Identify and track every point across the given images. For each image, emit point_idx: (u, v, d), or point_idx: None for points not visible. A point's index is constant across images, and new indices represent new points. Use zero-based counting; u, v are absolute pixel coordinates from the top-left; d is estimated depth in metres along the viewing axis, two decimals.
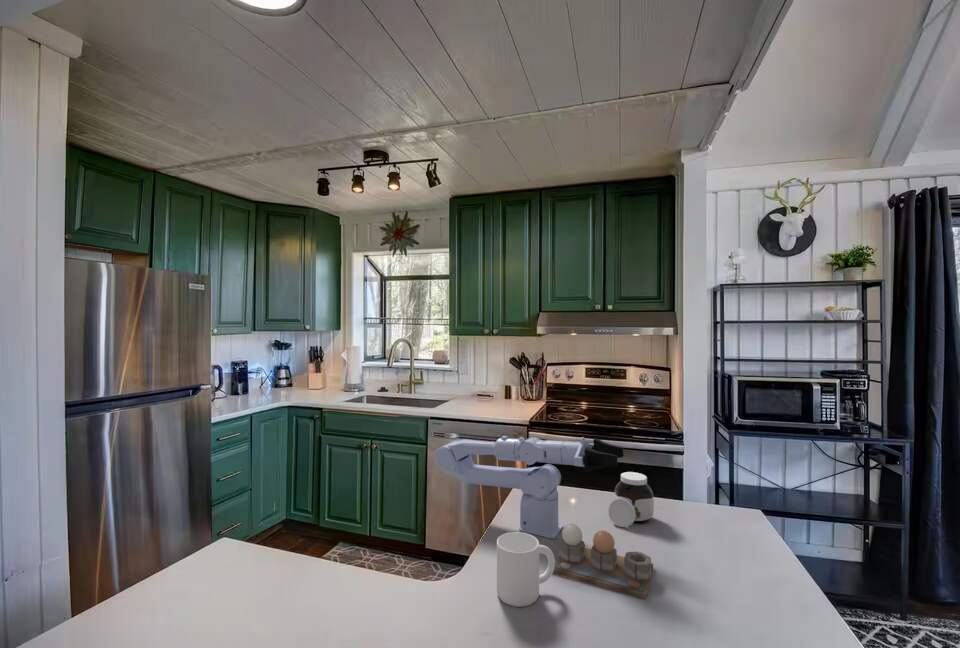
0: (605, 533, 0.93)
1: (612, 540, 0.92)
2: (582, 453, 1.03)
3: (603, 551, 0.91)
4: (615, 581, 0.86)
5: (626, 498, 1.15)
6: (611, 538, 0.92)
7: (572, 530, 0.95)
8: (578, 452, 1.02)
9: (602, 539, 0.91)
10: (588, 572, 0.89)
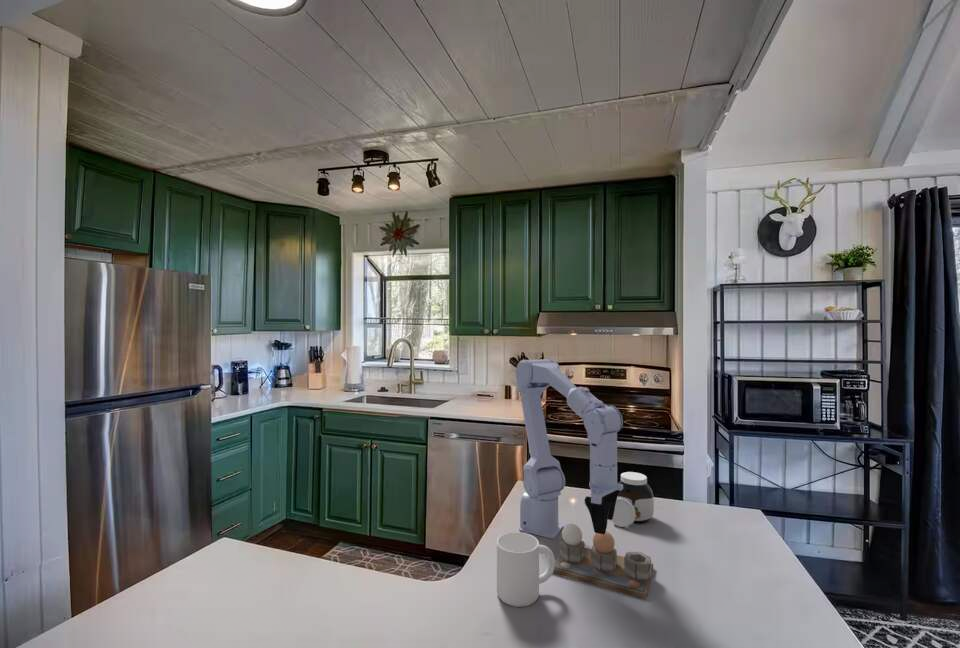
0: (605, 533, 0.93)
1: (612, 540, 0.92)
2: None
3: (603, 551, 0.91)
4: (615, 581, 0.86)
5: (626, 498, 1.15)
6: (611, 538, 0.92)
7: (572, 530, 0.95)
8: (606, 493, 0.88)
9: (602, 539, 0.91)
10: (588, 572, 0.89)
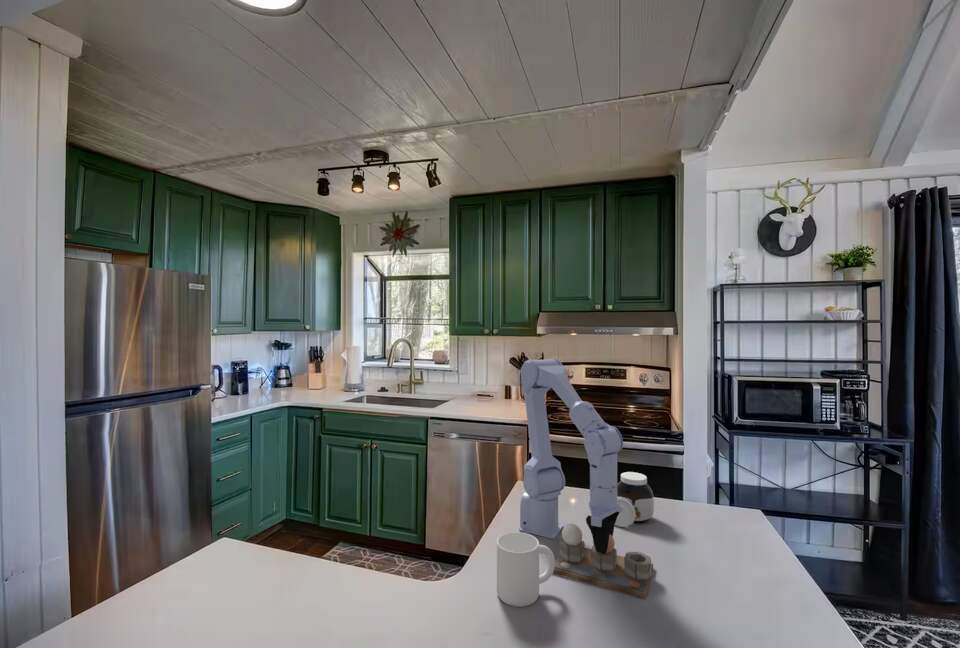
0: None
1: (612, 540, 0.92)
2: None
3: None
4: (615, 581, 0.86)
5: (626, 498, 1.15)
6: (611, 538, 0.92)
7: (572, 530, 0.95)
8: (606, 516, 0.88)
9: None
10: (588, 572, 0.89)
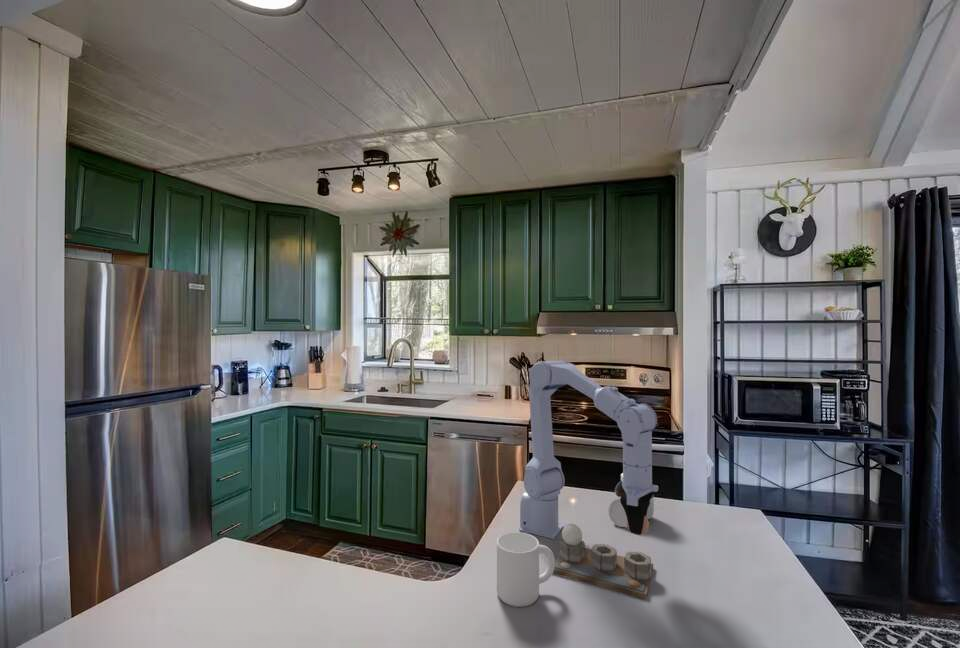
0: None
1: (647, 521, 0.88)
2: None
3: None
4: (615, 581, 0.86)
5: None
6: (646, 519, 0.89)
7: (572, 530, 0.95)
8: (642, 495, 0.85)
9: None
10: (588, 572, 0.89)
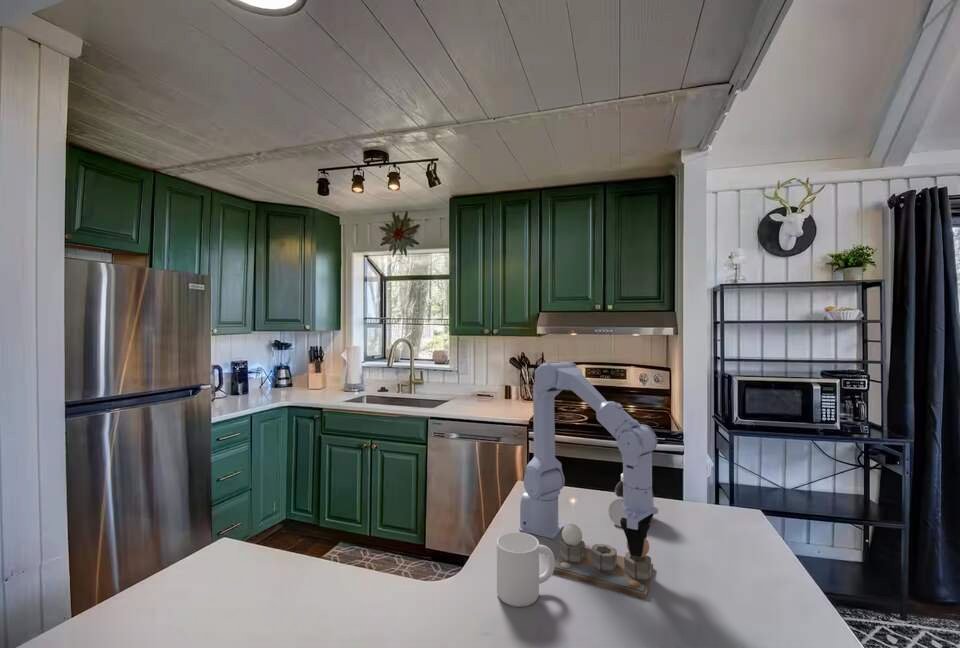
0: None
1: (647, 543, 0.88)
2: None
3: None
4: (615, 581, 0.86)
5: None
6: (646, 541, 0.89)
7: (572, 530, 0.95)
8: (642, 518, 0.85)
9: None
10: (588, 572, 0.89)
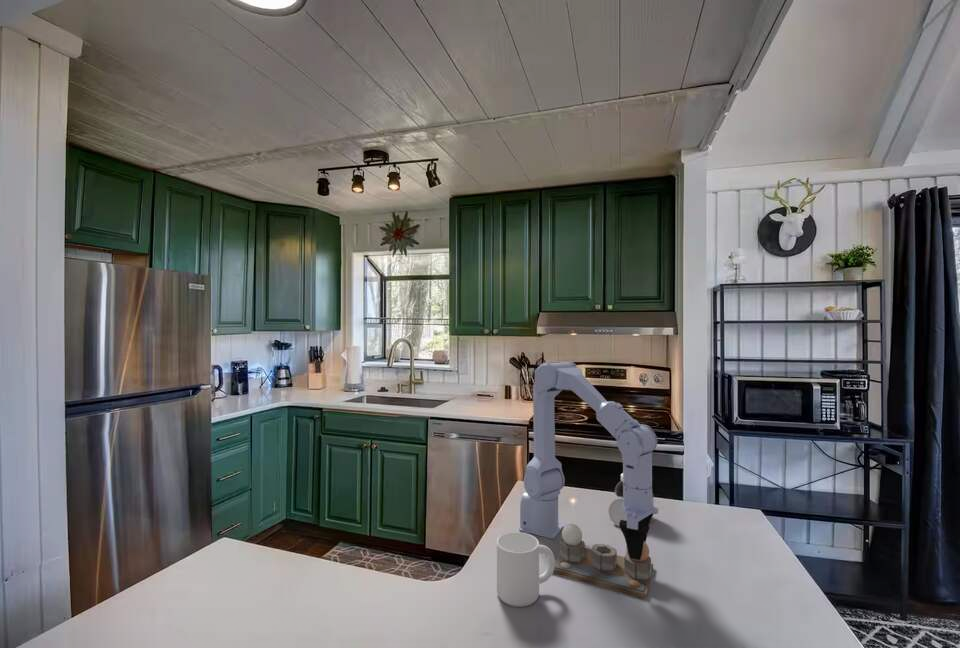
0: None
1: (647, 548, 0.88)
2: None
3: None
4: (615, 581, 0.86)
5: None
6: (646, 546, 0.89)
7: (572, 530, 0.95)
8: (642, 518, 0.85)
9: None
10: (588, 572, 0.89)
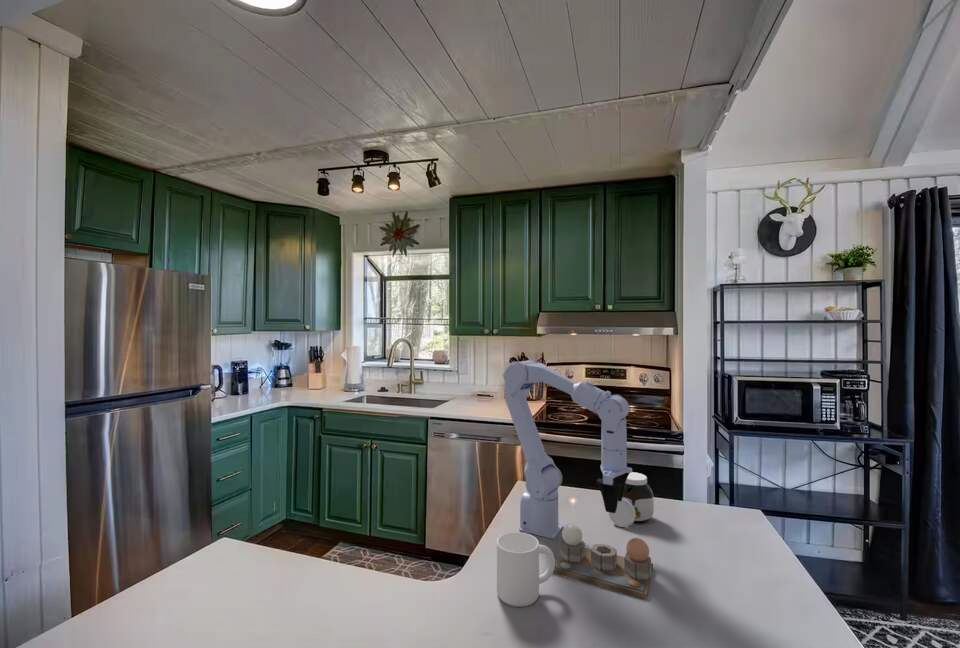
0: (639, 540, 0.89)
1: (647, 548, 0.88)
2: None
3: (638, 559, 0.88)
4: (615, 581, 0.86)
5: (626, 498, 1.15)
6: (646, 546, 0.89)
7: (572, 530, 0.95)
8: (616, 475, 0.96)
9: (637, 547, 0.88)
10: (588, 572, 0.89)
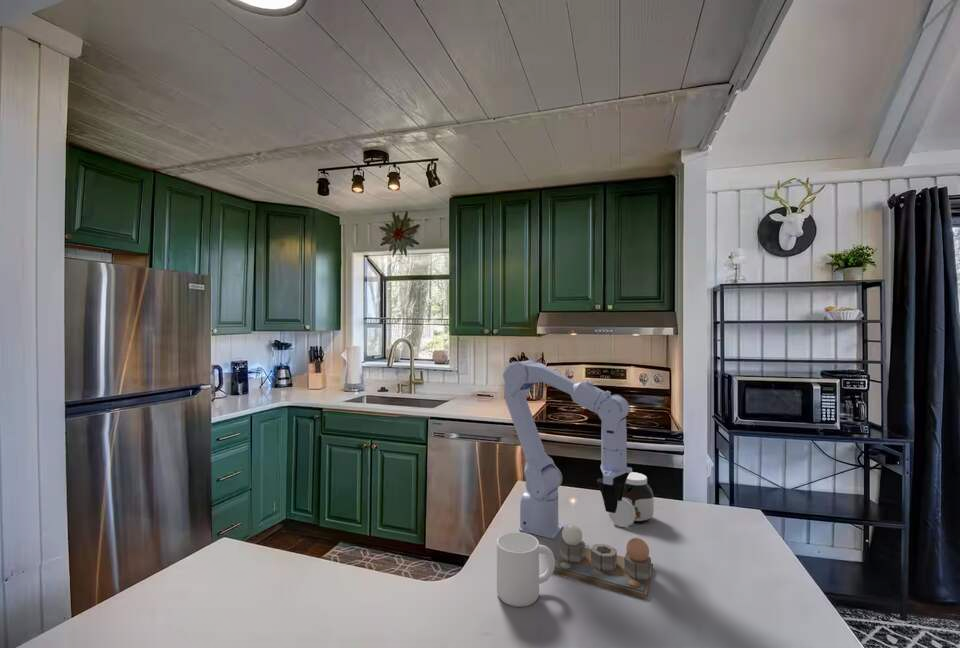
0: (639, 540, 0.89)
1: (647, 548, 0.88)
2: None
3: (638, 559, 0.88)
4: (615, 581, 0.86)
5: (626, 498, 1.15)
6: (646, 546, 0.89)
7: (572, 530, 0.95)
8: (616, 475, 0.96)
9: (637, 547, 0.88)
10: (588, 572, 0.89)
